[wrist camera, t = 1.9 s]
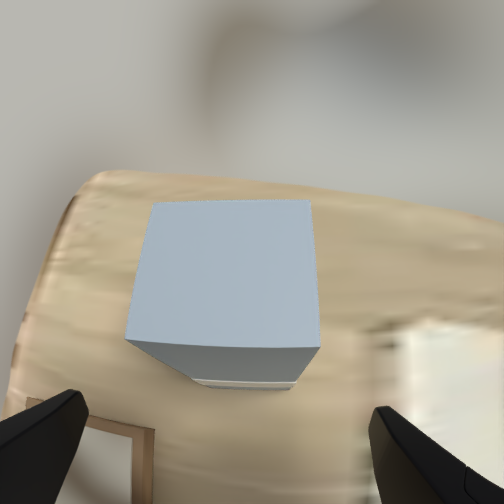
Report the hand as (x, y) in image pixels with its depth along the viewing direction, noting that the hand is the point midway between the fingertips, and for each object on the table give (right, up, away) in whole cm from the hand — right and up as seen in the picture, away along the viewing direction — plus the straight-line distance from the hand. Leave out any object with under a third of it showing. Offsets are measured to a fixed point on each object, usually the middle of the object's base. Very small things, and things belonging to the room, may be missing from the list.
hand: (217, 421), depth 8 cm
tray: (-10, -11, +7) cm, 17 cm away
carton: (+1, -2, +11) cm, 12 cm away
